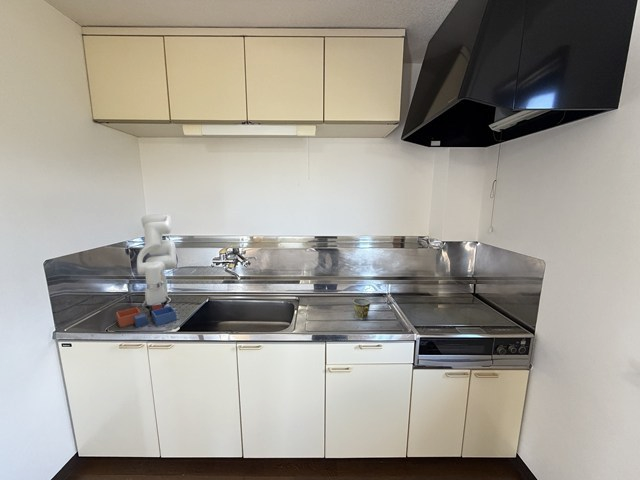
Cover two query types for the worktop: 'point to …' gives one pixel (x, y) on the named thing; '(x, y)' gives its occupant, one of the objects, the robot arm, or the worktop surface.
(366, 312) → the ceramic cup
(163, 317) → the blue bin
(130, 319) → the red bin
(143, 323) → the blue block
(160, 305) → the red block
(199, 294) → the worktop surface
